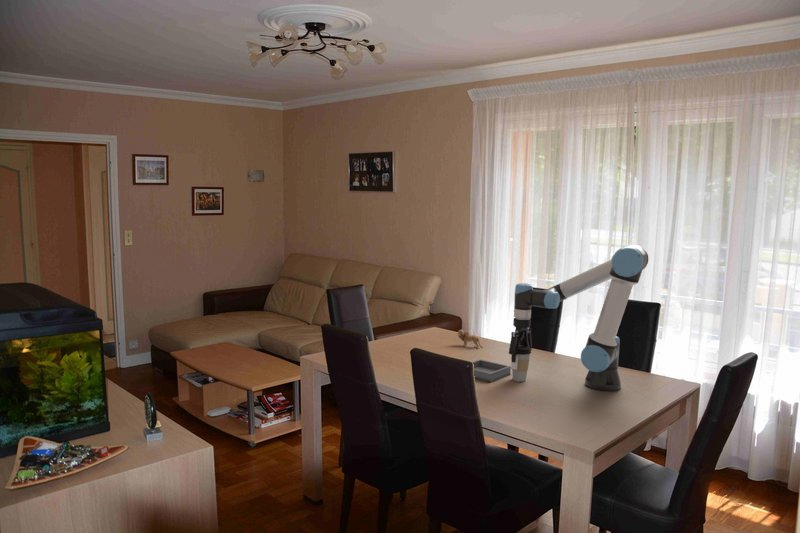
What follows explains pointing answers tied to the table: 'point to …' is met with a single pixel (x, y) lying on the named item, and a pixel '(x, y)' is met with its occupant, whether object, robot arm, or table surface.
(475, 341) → the lion figurine
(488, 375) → the bin
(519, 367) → the coffee cup
